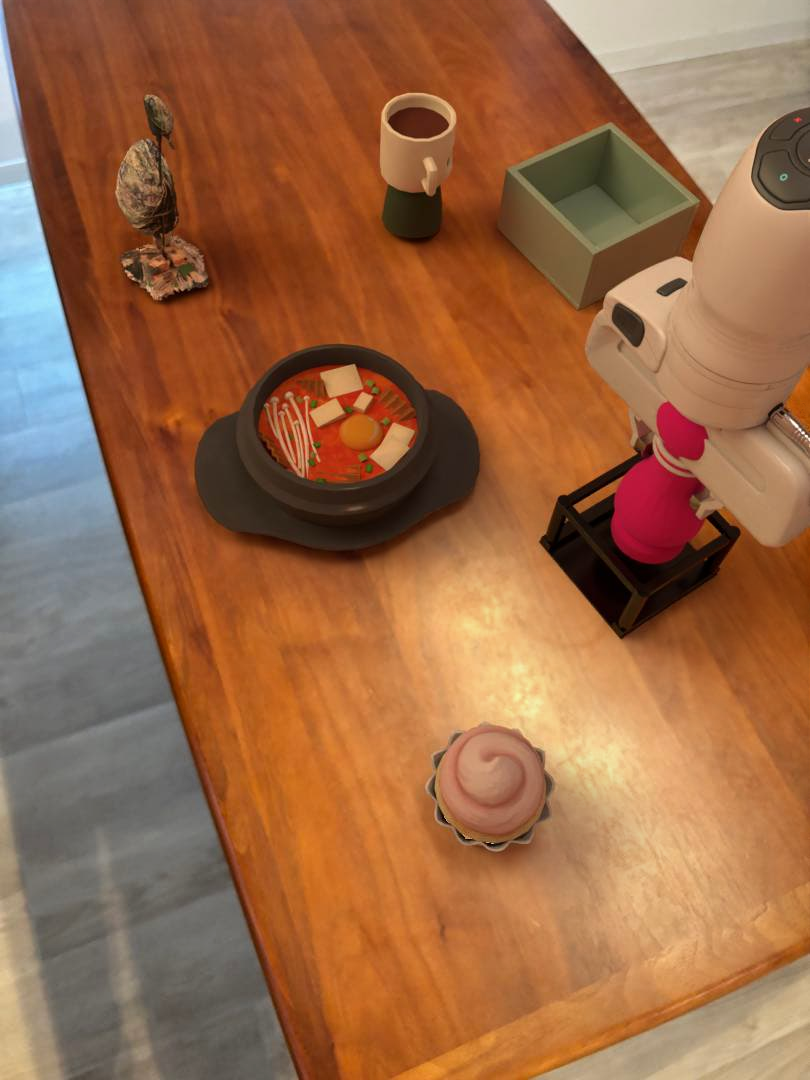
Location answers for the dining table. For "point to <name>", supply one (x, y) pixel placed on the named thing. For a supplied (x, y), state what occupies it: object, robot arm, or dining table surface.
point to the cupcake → (490, 786)
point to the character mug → (415, 162)
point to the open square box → (594, 213)
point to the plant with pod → (156, 213)
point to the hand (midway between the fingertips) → (670, 477)
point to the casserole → (336, 452)
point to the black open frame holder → (626, 558)
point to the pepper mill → (660, 493)
